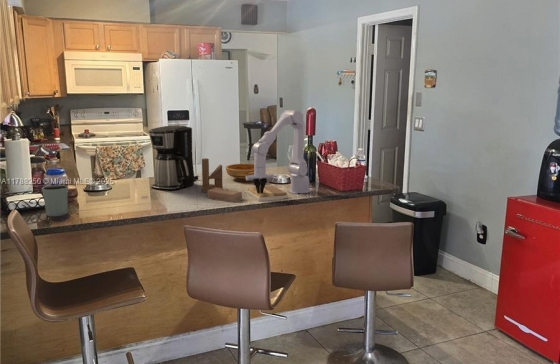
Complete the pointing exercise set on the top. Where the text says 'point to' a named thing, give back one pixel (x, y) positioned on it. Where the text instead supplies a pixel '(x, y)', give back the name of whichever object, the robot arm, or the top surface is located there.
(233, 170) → the wooden bowl
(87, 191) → the top surface
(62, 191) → the gray cup
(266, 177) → the robot arm
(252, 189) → the plank
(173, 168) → the coffee maker
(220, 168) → the brown wooden bracket
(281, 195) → the floor board
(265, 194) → the plank
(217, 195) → the brick
